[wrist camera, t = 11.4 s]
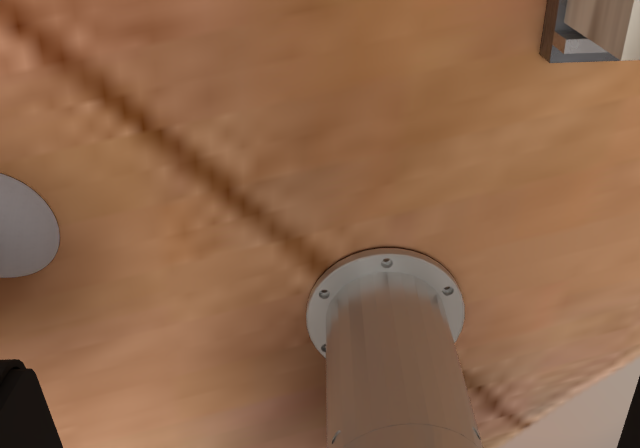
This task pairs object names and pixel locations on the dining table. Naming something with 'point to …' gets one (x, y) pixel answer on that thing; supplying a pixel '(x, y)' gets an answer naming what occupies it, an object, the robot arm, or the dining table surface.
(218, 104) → the dining table surface
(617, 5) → the block
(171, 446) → the dining table surface
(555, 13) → the rail
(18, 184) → the lamp
